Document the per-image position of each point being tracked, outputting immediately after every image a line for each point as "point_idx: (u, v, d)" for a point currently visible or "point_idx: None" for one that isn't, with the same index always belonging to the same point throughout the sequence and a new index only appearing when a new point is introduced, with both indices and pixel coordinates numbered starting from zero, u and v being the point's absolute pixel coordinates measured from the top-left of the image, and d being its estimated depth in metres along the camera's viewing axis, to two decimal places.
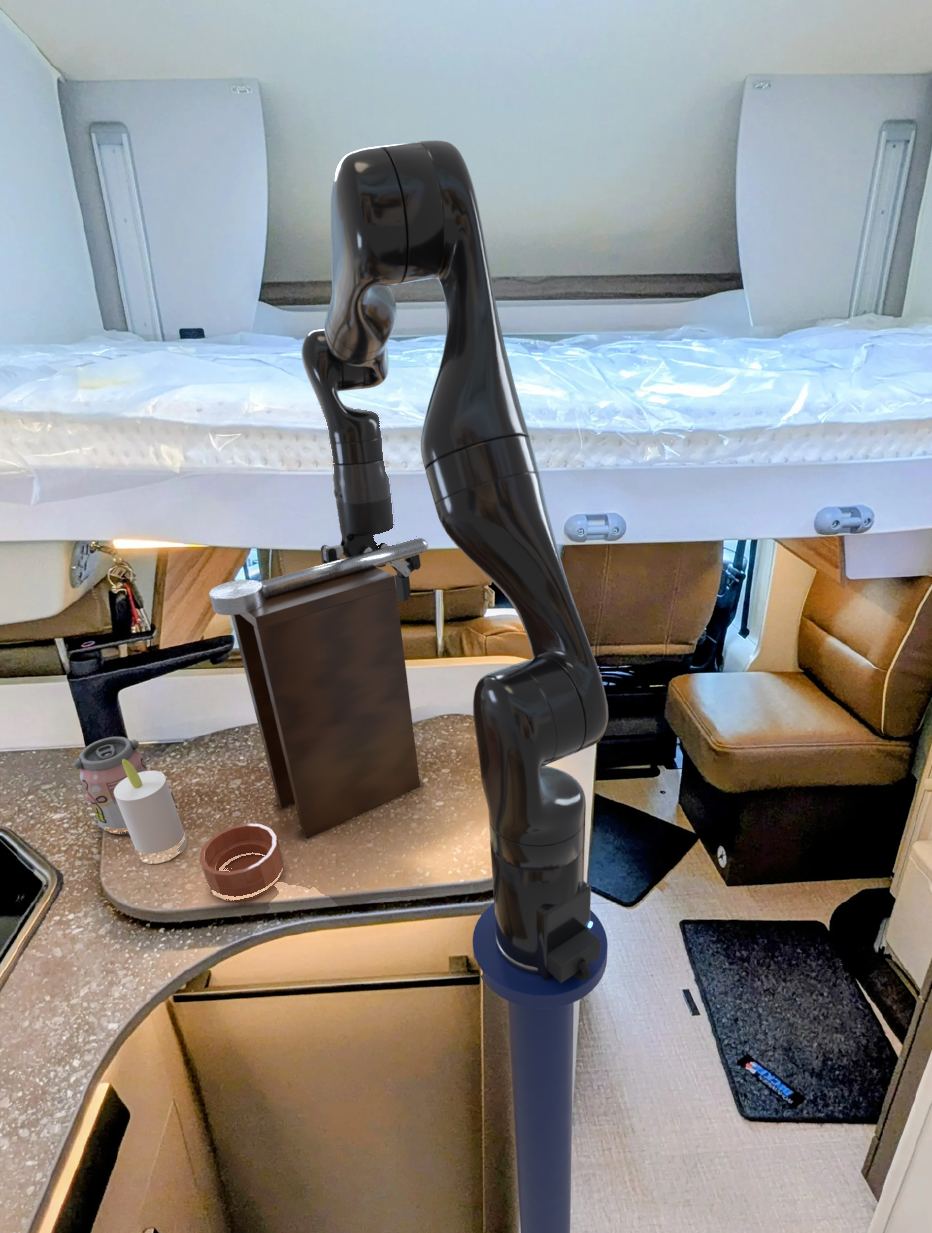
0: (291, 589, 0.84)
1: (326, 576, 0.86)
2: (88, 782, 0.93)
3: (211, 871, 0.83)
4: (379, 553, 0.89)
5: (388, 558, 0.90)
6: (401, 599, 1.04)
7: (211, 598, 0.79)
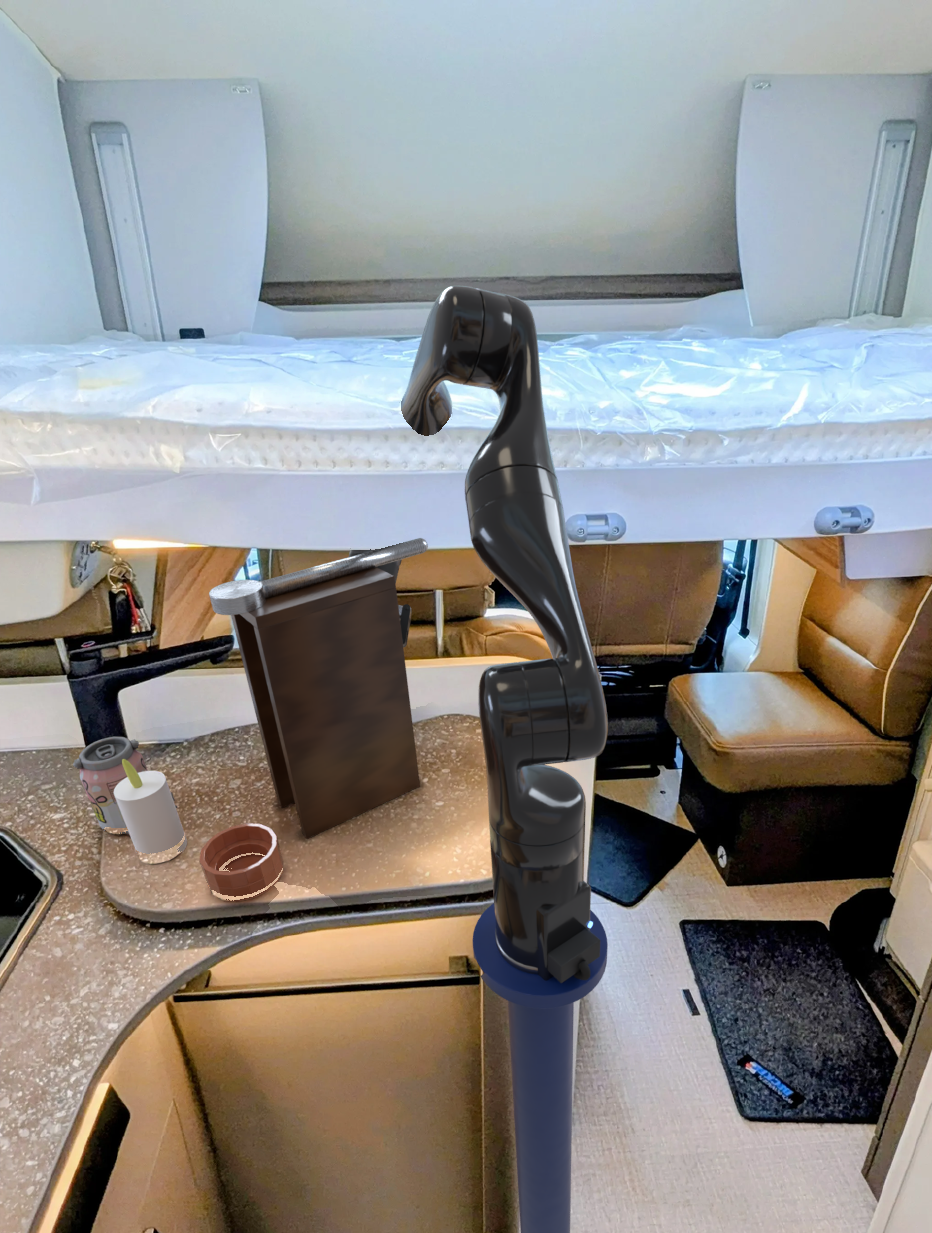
0: (291, 589, 0.84)
1: (326, 576, 0.86)
2: (88, 782, 0.93)
3: (211, 871, 0.83)
4: (379, 553, 0.89)
5: (388, 558, 0.90)
6: None
7: (211, 598, 0.79)
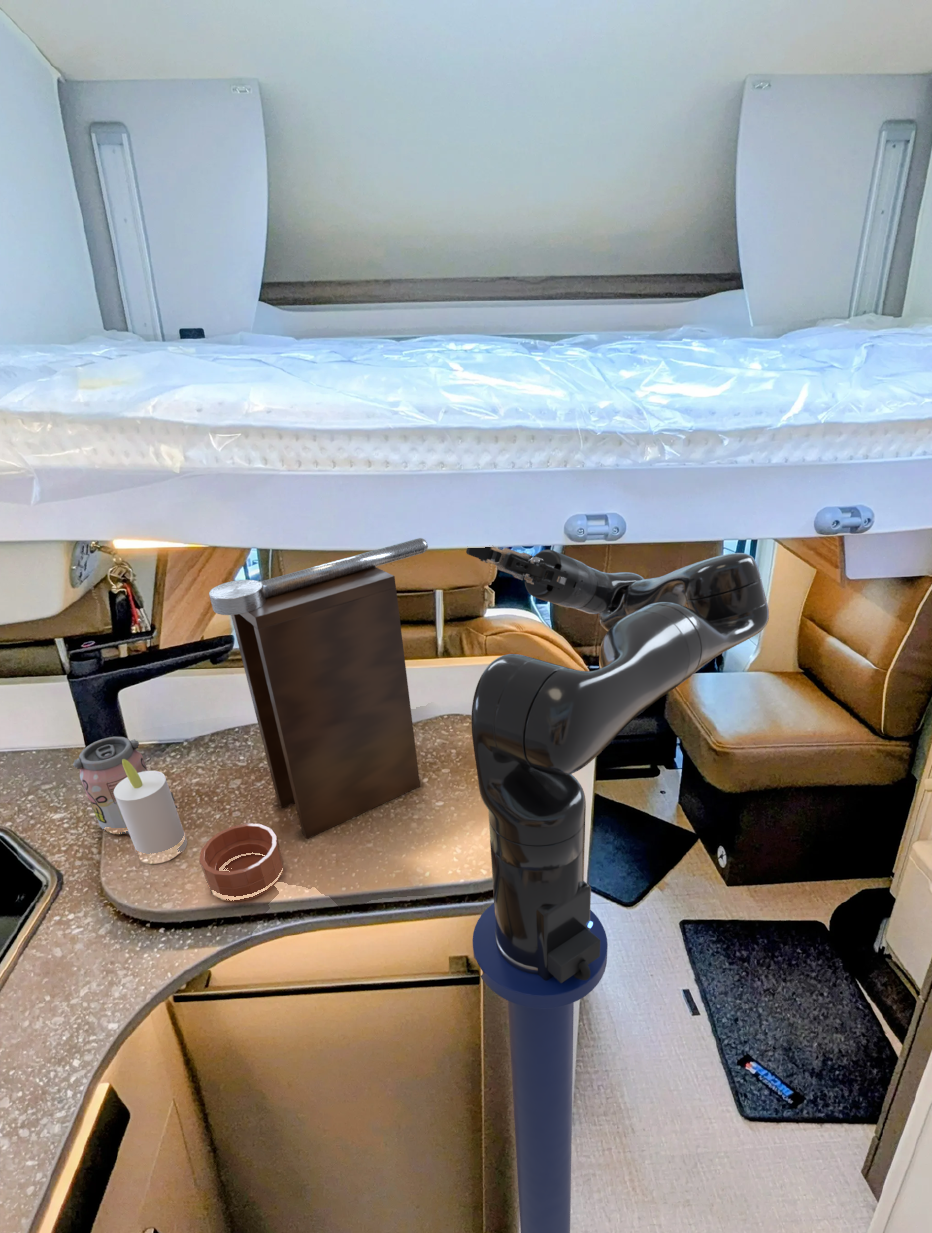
0: (291, 589, 0.84)
1: (326, 576, 0.86)
2: (88, 782, 0.93)
3: (211, 871, 0.83)
4: (379, 553, 0.89)
5: (388, 558, 0.90)
6: None
7: (211, 598, 0.79)
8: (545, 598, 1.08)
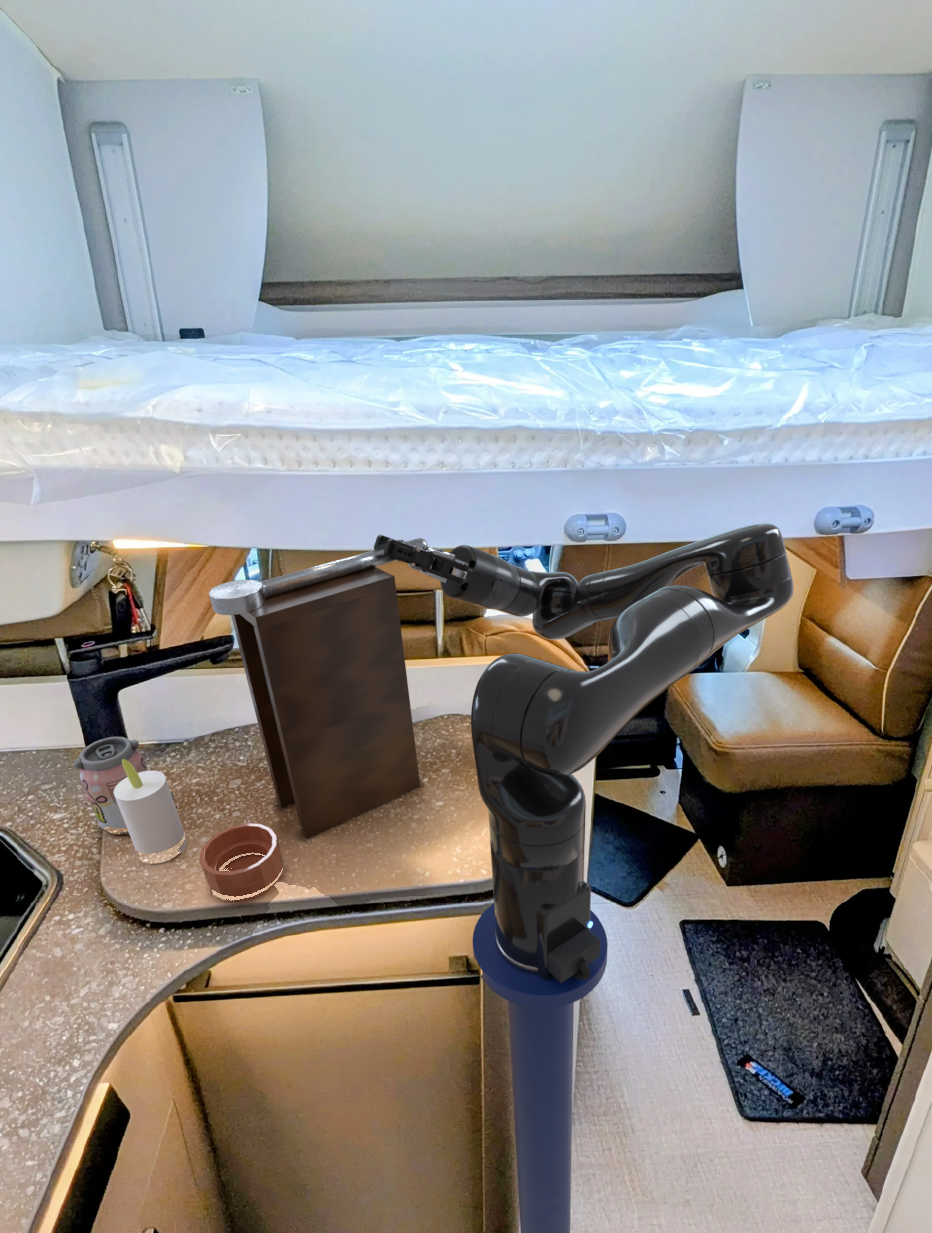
0: (291, 589, 0.84)
1: (326, 576, 0.86)
2: (88, 782, 0.93)
3: (211, 871, 0.83)
4: (379, 553, 0.89)
5: (387, 558, 0.90)
6: None
7: (211, 598, 0.79)
8: (460, 598, 0.98)
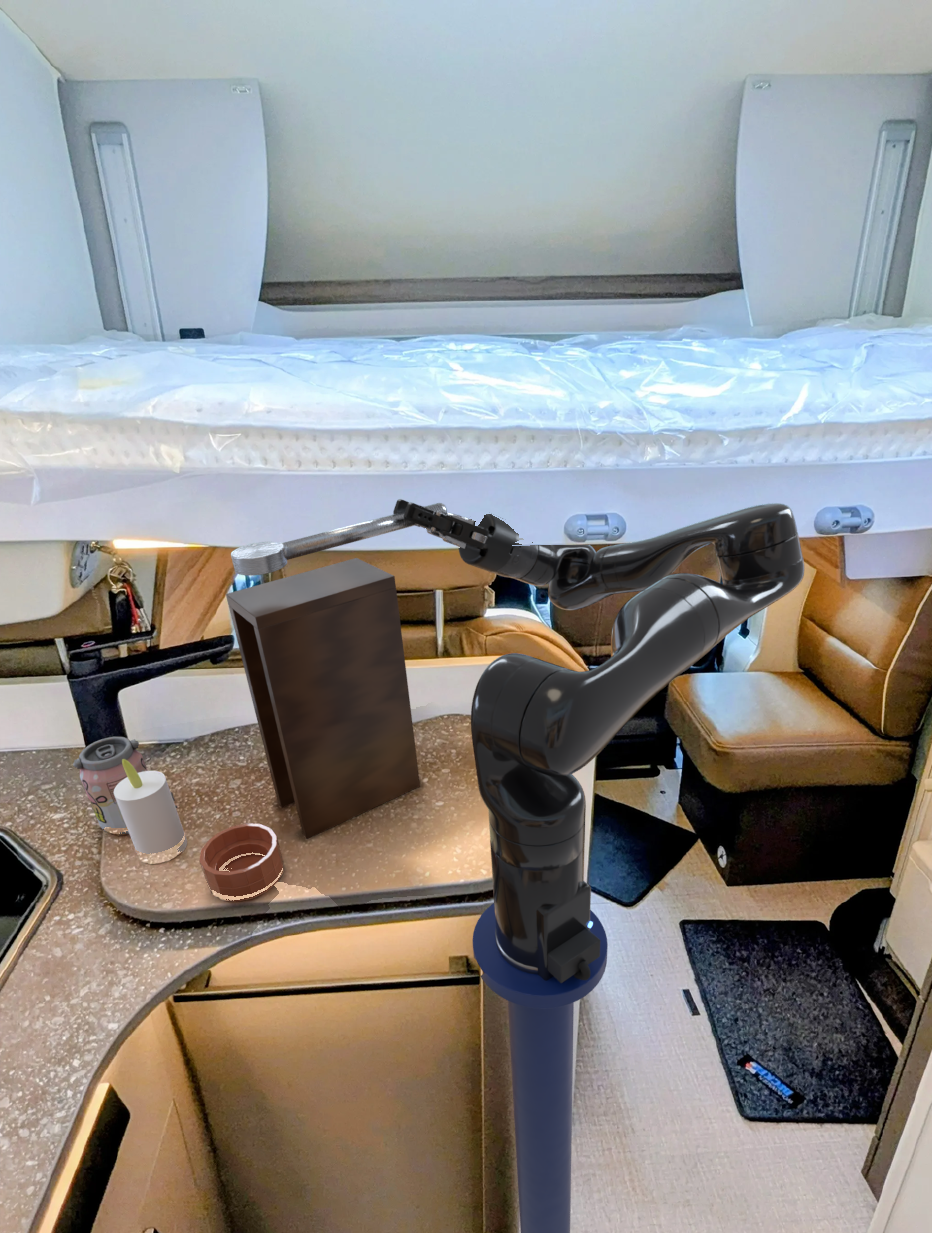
0: (312, 551, 0.84)
1: (346, 538, 0.85)
2: (88, 782, 0.93)
3: (211, 871, 0.83)
4: (399, 517, 0.89)
5: (407, 522, 0.89)
6: None
7: (233, 558, 0.79)
8: (479, 565, 0.98)
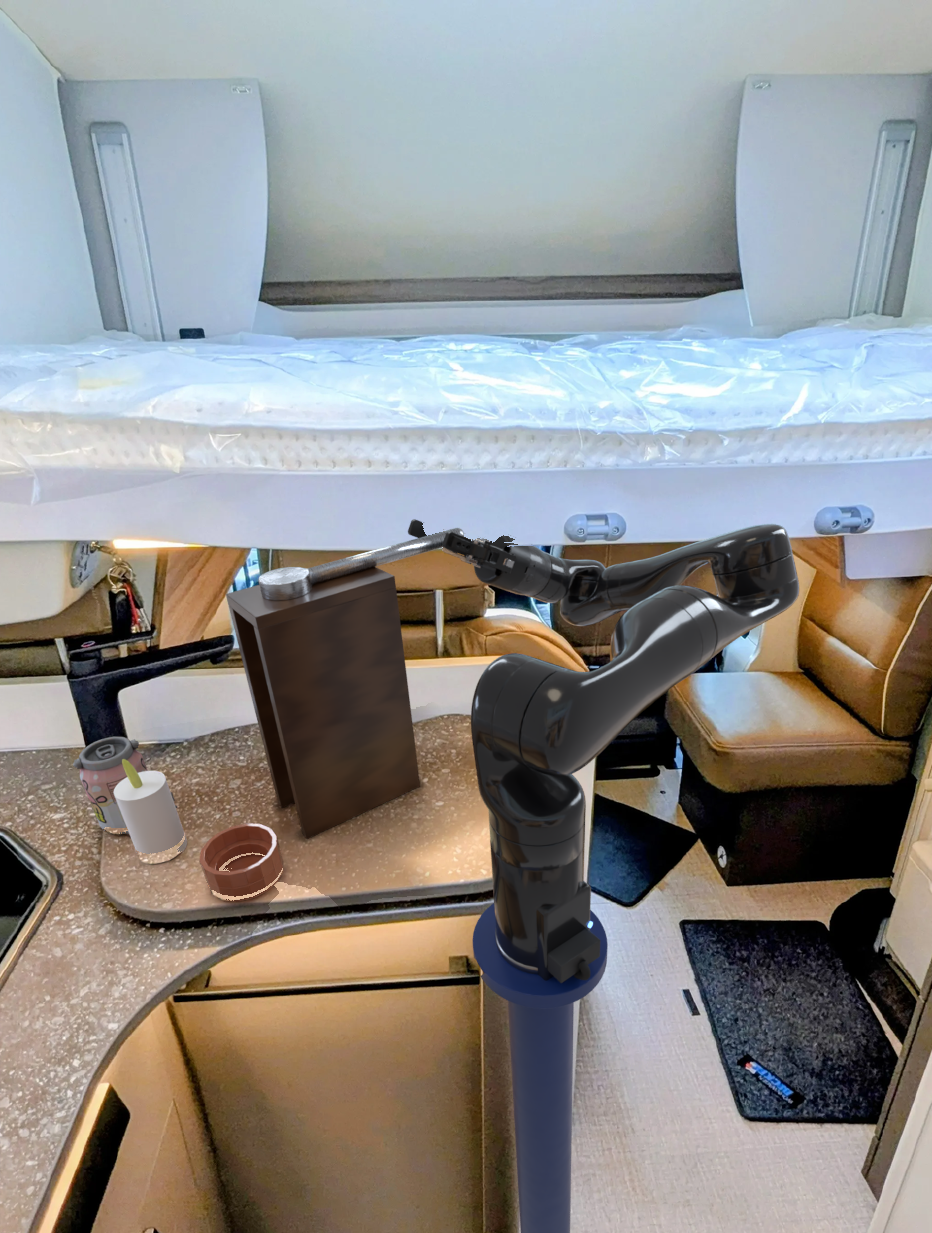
0: (336, 576, 0.87)
1: (368, 564, 0.88)
2: (88, 782, 0.93)
3: (211, 871, 0.83)
4: (419, 542, 0.92)
5: (427, 547, 0.92)
6: None
7: (261, 584, 0.82)
8: (494, 583, 1.00)
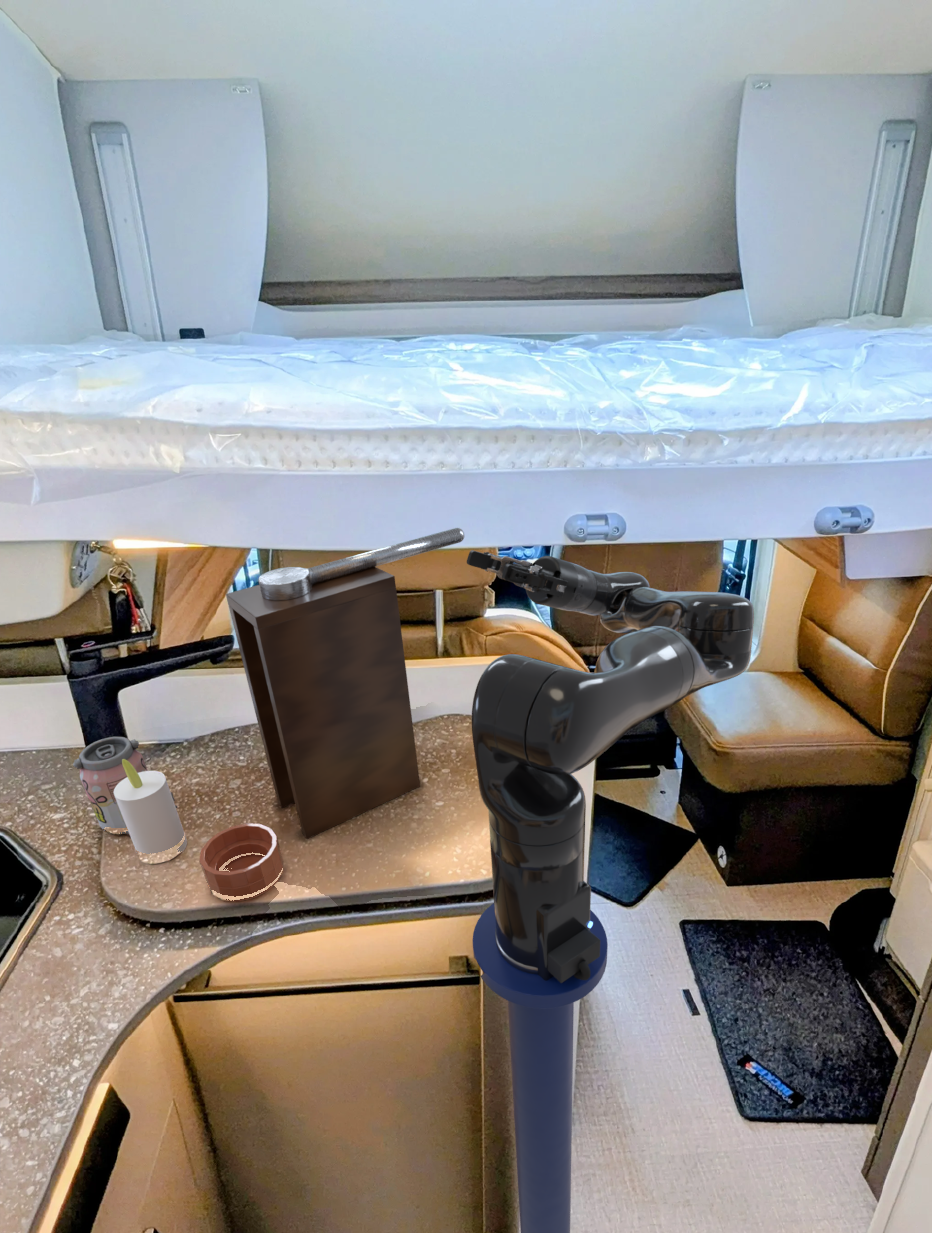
0: (336, 576, 0.87)
1: (368, 564, 0.88)
2: (88, 782, 0.93)
3: (211, 871, 0.83)
4: (419, 542, 0.92)
5: (427, 547, 0.92)
6: None
7: (261, 584, 0.82)
8: (546, 604, 1.09)
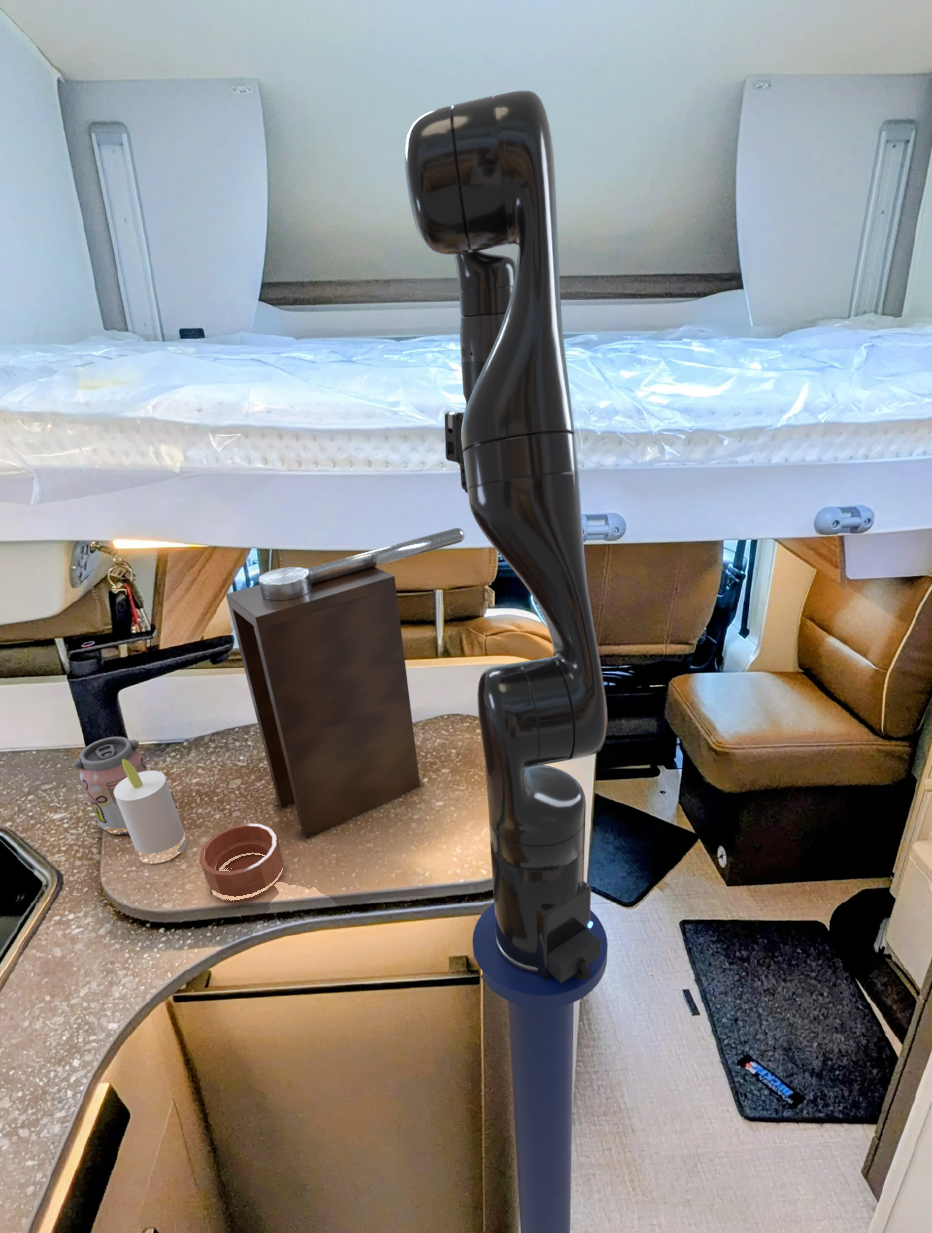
0: (336, 576, 0.87)
1: (368, 564, 0.88)
2: (88, 782, 0.93)
3: (211, 871, 0.83)
4: (419, 542, 0.92)
5: (427, 547, 0.92)
6: None
7: (261, 584, 0.82)
8: None
